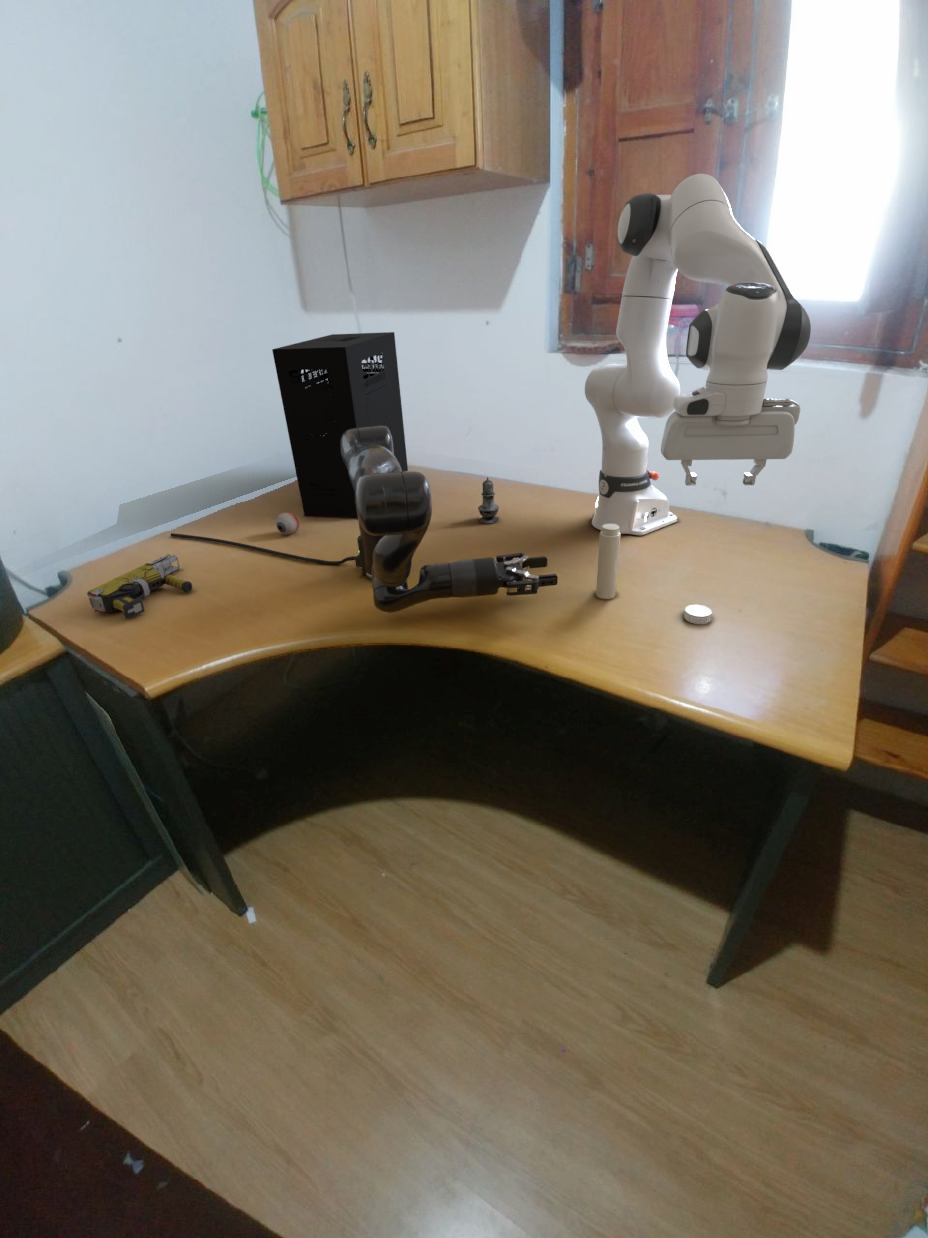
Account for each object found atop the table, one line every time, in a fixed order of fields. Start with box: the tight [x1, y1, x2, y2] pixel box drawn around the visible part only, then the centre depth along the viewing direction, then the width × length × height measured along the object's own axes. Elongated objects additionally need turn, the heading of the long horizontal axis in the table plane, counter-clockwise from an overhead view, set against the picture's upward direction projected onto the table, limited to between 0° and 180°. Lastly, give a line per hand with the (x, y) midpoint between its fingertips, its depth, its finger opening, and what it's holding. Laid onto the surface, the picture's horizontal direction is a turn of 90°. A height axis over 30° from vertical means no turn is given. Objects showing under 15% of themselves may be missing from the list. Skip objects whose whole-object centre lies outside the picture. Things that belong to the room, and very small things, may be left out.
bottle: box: [595, 524, 621, 600], centre depth 122 cm, size 4×4×15 cm
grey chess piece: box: [477, 477, 500, 524], centre depth 164 cm, size 6×6×12 cm
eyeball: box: [275, 511, 300, 536], centre depth 163 cm, size 6×6×6 cm
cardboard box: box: [271, 331, 409, 519], centre depth 180 cm, size 38×20×45 cm, turn 167°
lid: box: [683, 604, 713, 625], centre depth 116 cm, size 5×5×2 cm
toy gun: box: [86, 553, 193, 620], centre depth 136 cm, size 5×24×15 cm
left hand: (551, 570), depth 122 cm, fingers open, 8 cm apart
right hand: (719, 484), depth 103 cm, fingers open, 8 cm apart
